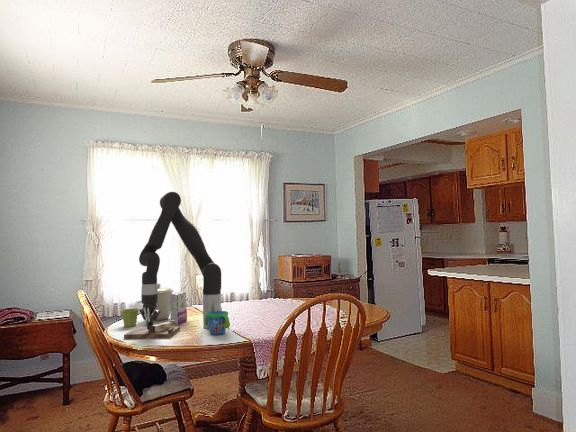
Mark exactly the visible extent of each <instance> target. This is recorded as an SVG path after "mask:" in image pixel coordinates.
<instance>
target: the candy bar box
mask: <svg viewBox="0 0 576 432" xmlns="http://www.w3.org/2000/svg"><path fill="white" fill-rule="evenodd" d="M187 307H188V305H187V291H178V292H175V293H172V294H171V295H170V320H175V322H174V326H175V325H176V326H179V325H180V324H183V323H186V322H187V321H188V313H187V311H188V309H187Z"/></svg>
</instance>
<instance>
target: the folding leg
mask: <svg viewBox="0 0 576 432" xmlns="http://www.w3.org/2000/svg"><path fill="white" fill-rule="evenodd" d="M174 322H175V320H171V319H170V320H169V321H166V322H162V323H157V324H153V325H152V326H148V333H156V332H160V331H164V330H168V329H170V328H174V327H175V325H174Z"/></svg>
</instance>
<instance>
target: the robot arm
mask: <svg viewBox="0 0 576 432" xmlns="http://www.w3.org/2000/svg"><path fill="white" fill-rule="evenodd" d="M181 203H182V198H181V196H180V194H179V193H178V192H176V191H168V192H167V193H165V194H164V195H162V196H161V197H160V199H159V205H160V209H161V211H160V212H161V213H160V215H159V217H158V219H157V221H156V223H155V224H154V226H153V228H152V230H151V233H150V235H149V238H148V241H147V243H146V244H145V246H144V247H143V248H142V250H141V251H140V254H139V257H138V262H139V264H140V265H141V266H142V267H146V269H145V271H144V272H142V273H141V274H142V275H141V289H140V290H141V295H140V296H141V304H143V305H142V308H140V309H139V310H138V312H140V315H141V317H142V319H143V320H144V321H146V327H147V329H148V326H152V325H154V322H155V321H154V320H156V319H157V317H158V315H159V313H160V310H157V306H156V303H157V302H158V287H157V283H158V272H159V270H160V269H159V268H160V263H161V258H160V256H159V254H158V253H157V251H158V250H160V249H161V248H162V247H163V244H164V242H165V239H166V236H167V233H168V230H169V228H170V225H171V223H172V225H173V227H174V230H175V231H176V232H177V234H178V236H179V238H180V239H181V241H182V243H183V245H184V246H185V248H186V249H187V251H188V252H189V253H190V255H191V256H192V258H194V260H195V263H196V264H197V266H198V268H199V270H200V273H201V275H202V276H203V277H202V279H203V288H202V317H203V319H202V321H203V322H202V323H203V329H208V330H209V327H208V325H206V324H205V320H206V313H208V312H213V311H223V307H222V299H221V297H222V295H221V293H222V292H221V291H222V269H221V267H220V266H219V265H218V264H217V263H216V262H214V261H213V259H212V258H211V256H210V254H208V253H209V252H208V251H207V249H206V246H205V242H204V241H203V239H202V236H201V235H200V233H199V231H198V229H197V228H196V226H194V224H193V223H191V222H190V221H189V219H187V218H186V216H184V214H183V213H182V211H181V209H180V205H181Z"/></svg>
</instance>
